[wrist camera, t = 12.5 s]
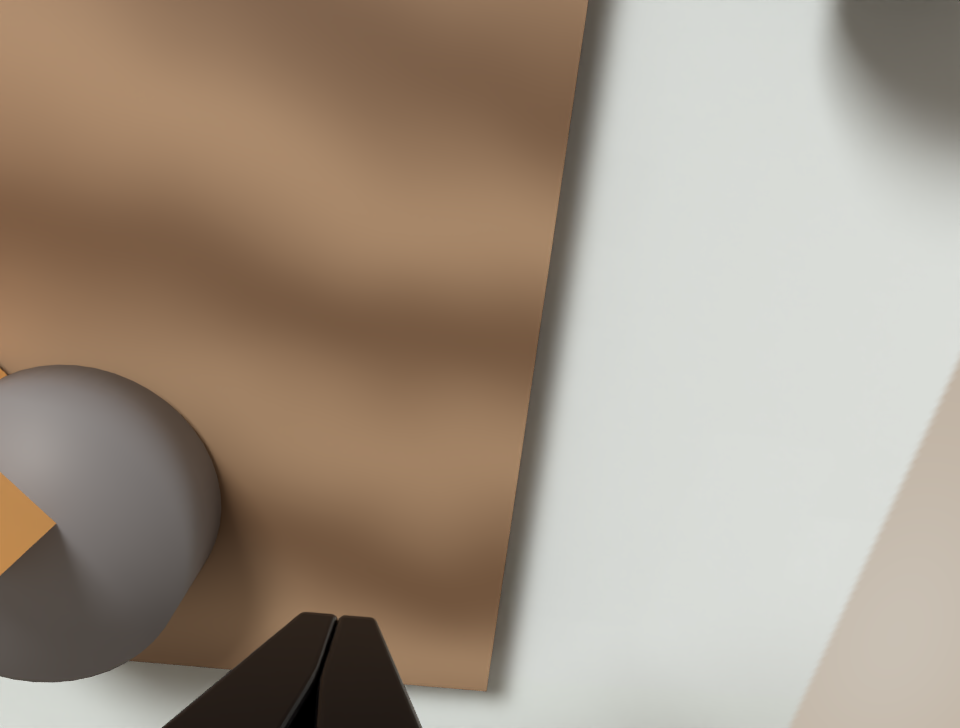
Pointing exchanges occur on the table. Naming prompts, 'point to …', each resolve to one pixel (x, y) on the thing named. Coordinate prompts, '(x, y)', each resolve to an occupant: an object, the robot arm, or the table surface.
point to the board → (302, 282)
